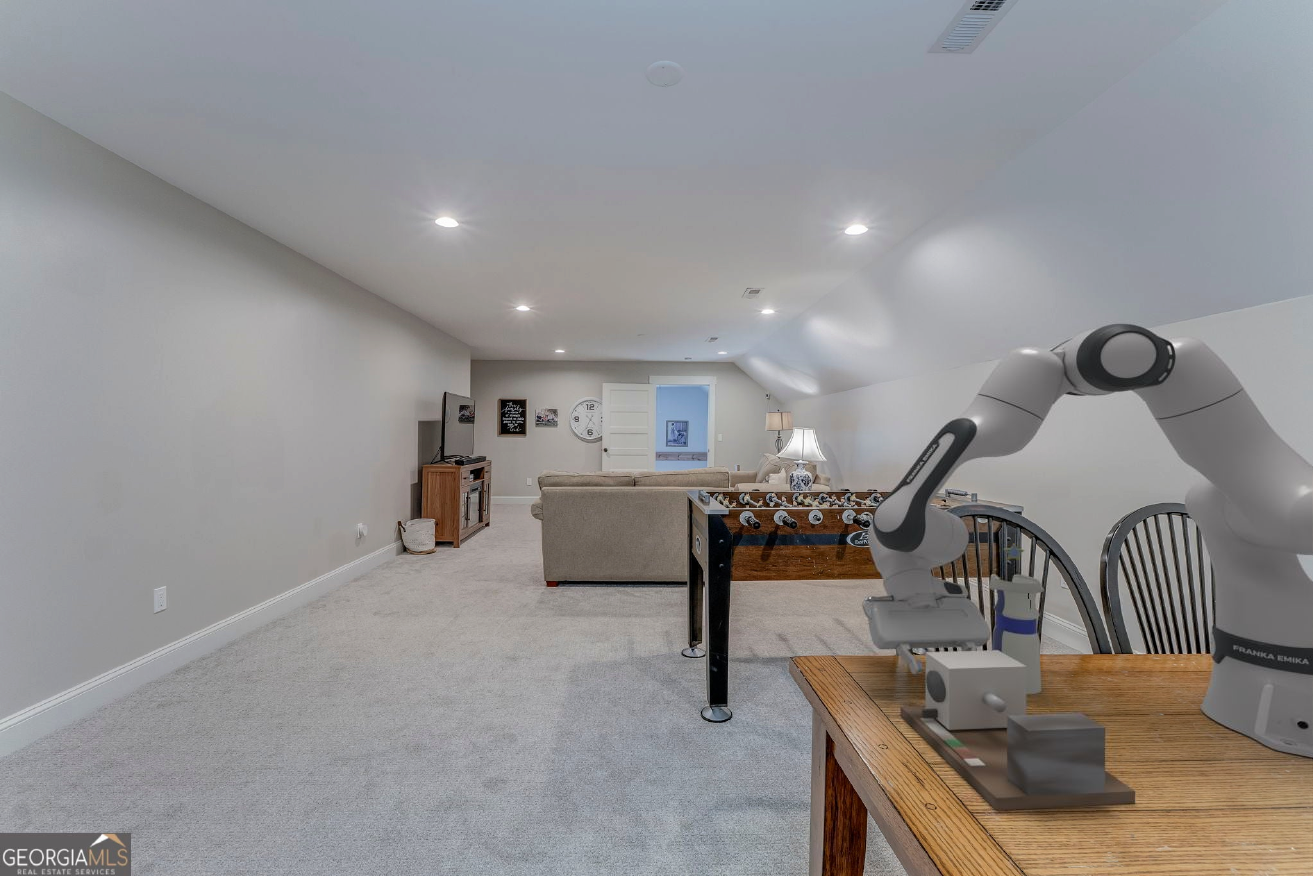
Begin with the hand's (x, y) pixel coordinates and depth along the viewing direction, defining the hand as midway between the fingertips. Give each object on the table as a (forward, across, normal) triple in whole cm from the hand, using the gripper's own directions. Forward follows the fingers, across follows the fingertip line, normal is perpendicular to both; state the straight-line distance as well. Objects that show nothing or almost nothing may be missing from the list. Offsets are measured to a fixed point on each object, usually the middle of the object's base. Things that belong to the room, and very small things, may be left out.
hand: (945, 671), depth 90 cm
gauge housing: (+9, -1, -3) cm, 9 cm away
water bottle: (-1, +18, +10) cm, 20 cm away
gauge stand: (+14, 0, -5) cm, 14 cm away
